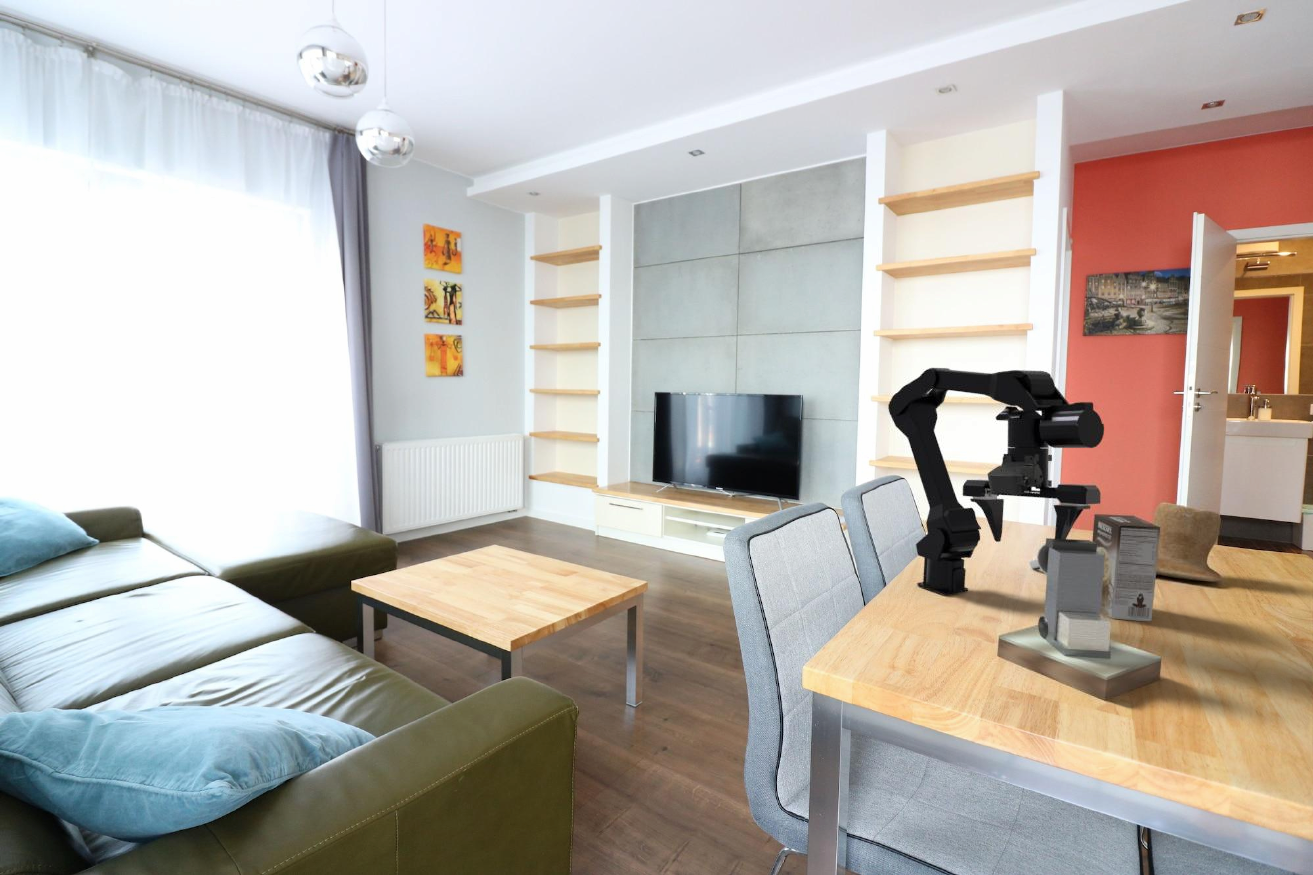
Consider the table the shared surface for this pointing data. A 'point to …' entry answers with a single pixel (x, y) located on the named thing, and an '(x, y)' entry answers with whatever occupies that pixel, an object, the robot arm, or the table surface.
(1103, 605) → the coffee box
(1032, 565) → the ceramic mug
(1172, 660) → the table surface
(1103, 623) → the hand trolley
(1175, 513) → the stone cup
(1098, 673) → the plate
